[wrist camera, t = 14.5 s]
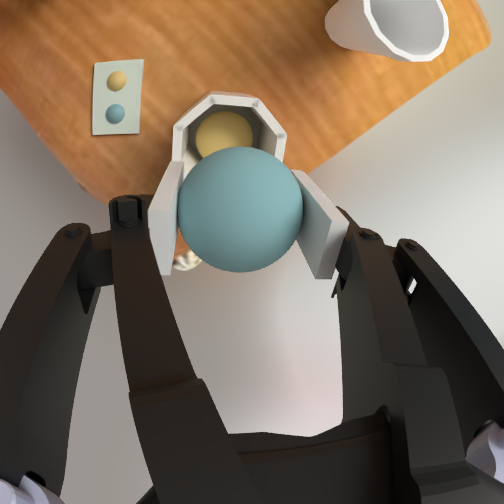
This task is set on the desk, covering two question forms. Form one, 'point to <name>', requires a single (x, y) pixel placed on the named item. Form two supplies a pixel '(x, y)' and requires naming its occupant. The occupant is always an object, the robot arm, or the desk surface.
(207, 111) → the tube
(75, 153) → the desk surface
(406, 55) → the foam cup
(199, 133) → the ball ochre
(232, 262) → the ball teal
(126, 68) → the card
